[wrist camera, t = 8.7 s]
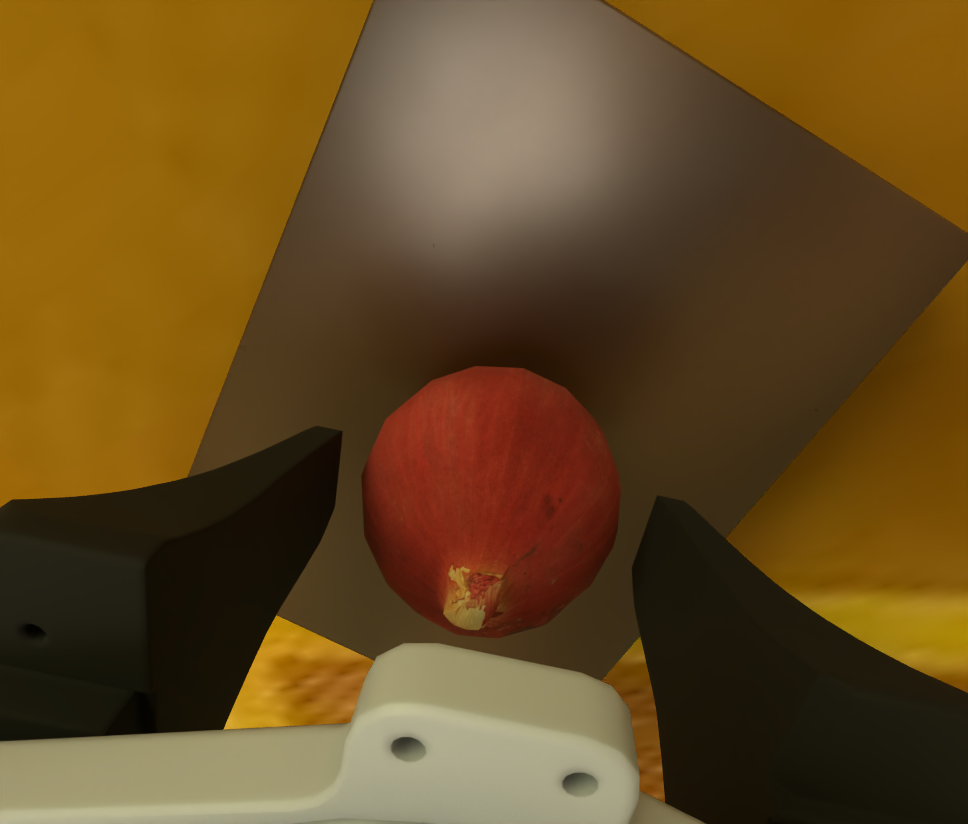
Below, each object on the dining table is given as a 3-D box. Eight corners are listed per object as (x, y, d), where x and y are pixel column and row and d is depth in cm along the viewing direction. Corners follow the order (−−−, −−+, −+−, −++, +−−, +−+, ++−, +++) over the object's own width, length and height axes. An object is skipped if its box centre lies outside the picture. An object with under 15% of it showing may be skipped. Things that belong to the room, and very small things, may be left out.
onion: (628, 486, 18) (687, 719, 11) (444, 536, 19) (387, 776, 12) (566, 297, 16) (589, 430, 9) (366, 367, 17) (240, 533, 10)
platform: (915, 226, 18) (984, 243, 15) (547, 677, 25) (548, 742, 23) (440, -75, 16) (419, -120, 13) (199, 510, 23) (154, 559, 21)
